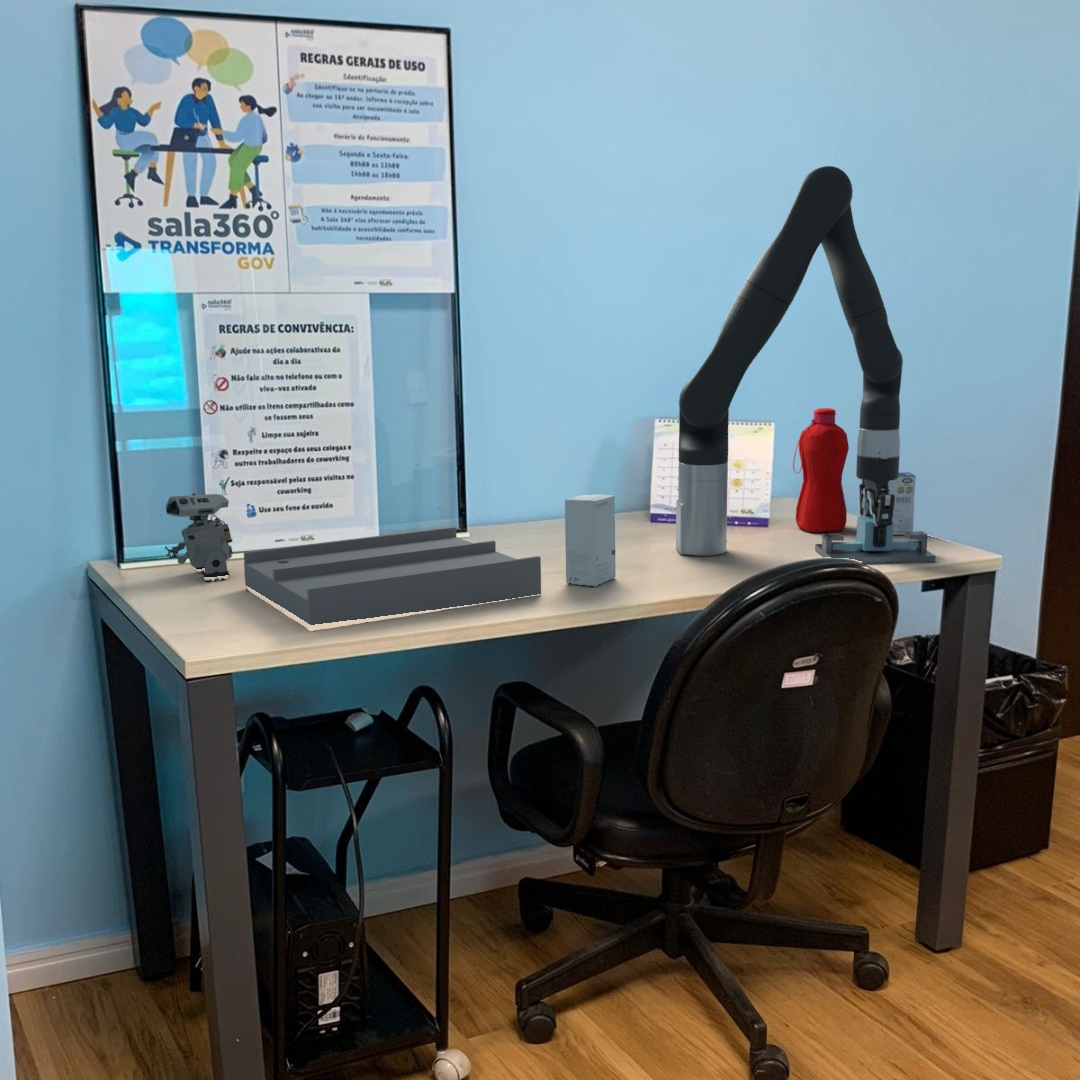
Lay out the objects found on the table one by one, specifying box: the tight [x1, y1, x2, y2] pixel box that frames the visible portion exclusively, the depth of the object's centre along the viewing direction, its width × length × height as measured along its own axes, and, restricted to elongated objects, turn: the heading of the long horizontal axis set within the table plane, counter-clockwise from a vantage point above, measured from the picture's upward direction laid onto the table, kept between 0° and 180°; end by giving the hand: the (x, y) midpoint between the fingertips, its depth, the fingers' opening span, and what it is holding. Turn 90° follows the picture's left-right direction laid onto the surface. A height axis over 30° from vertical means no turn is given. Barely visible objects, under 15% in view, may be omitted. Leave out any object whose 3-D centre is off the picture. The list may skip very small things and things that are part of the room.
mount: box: [814, 530, 937, 564], centre depth 229 cm, size 19×12×6 cm, turn 92°
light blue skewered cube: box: [832, 516, 919, 551], centre depth 228 cm, size 16×5×5 cm, turn 92°
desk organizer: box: [243, 526, 542, 625], centre depth 206 cm, size 32×40×7 cm
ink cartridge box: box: [860, 471, 917, 536], centre depth 249 cm, size 10×6×14 cm, turn 89°
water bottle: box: [792, 407, 850, 534], centre depth 252 cm, size 9×11×25 cm
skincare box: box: [564, 493, 616, 588], centre depth 211 cm, size 8×6×15 cm
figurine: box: [164, 492, 234, 577], centre depth 218 cm, size 9×12×15 cm
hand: (874, 543), depth 229 cm, fingers closed on light blue skewered cube, 5 cm apart
